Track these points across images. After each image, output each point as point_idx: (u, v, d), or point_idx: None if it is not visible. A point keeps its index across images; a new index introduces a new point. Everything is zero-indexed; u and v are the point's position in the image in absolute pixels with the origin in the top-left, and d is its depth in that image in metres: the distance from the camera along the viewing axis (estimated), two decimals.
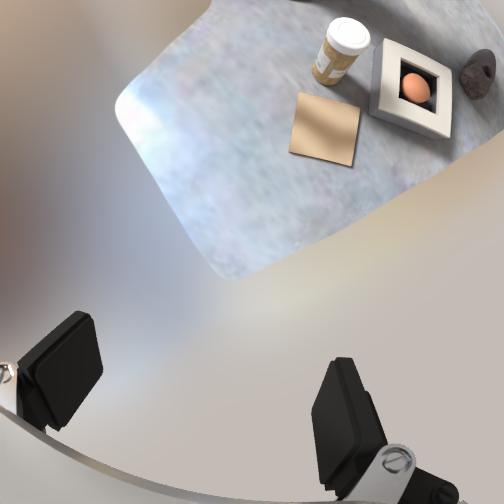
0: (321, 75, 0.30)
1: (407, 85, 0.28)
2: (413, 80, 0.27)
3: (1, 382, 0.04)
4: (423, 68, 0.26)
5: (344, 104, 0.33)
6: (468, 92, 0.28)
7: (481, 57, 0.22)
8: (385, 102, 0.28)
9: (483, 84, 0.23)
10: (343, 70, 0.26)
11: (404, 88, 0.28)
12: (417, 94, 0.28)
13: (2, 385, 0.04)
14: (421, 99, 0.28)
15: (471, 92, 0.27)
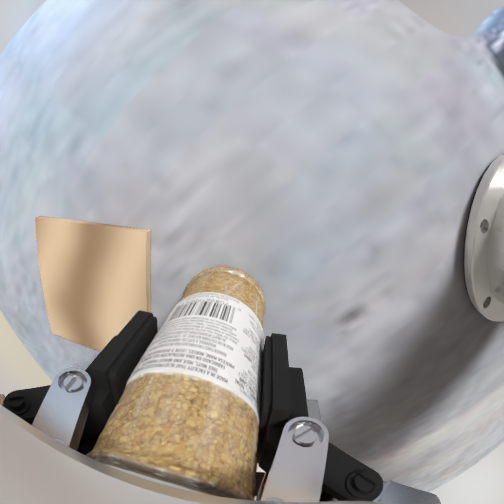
0: None
1: None
2: None
3: (69, 389, 0.06)
4: None
5: None
6: None
7: None
8: None
9: None
10: None
11: None
12: None
13: (68, 393, 0.05)
14: None
15: None
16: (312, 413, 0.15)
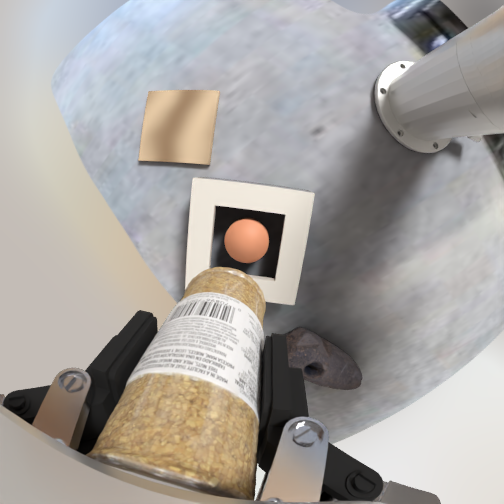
0: (179, 302, 0.12)
1: (244, 225, 0.28)
2: (256, 236, 0.28)
3: (69, 389, 0.06)
4: (279, 254, 0.28)
5: (209, 144, 0.29)
6: None
7: (338, 364, 0.30)
8: (202, 184, 0.26)
9: None
10: None
11: (239, 220, 0.28)
12: (234, 240, 0.28)
13: (68, 393, 0.05)
14: (229, 247, 0.29)
15: None
16: (304, 190, 0.29)
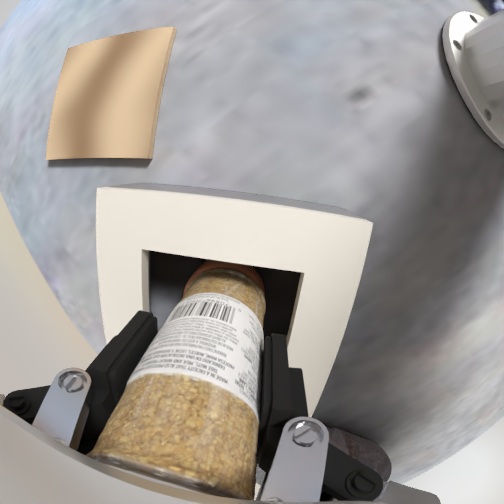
0: None
1: None
2: None
3: (69, 389, 0.06)
4: None
5: (150, 118, 0.14)
6: None
7: None
8: (114, 203, 0.11)
9: None
10: None
11: (208, 265, 0.15)
12: None
13: (68, 393, 0.05)
14: None
15: None
16: (339, 209, 0.14)
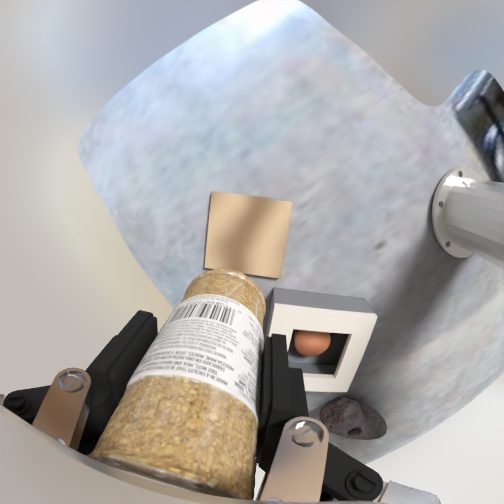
0: None
1: (313, 331, 0.32)
2: (321, 338, 0.33)
3: (69, 389, 0.06)
4: (341, 360, 0.30)
5: (281, 259, 0.31)
6: (327, 406, 0.37)
7: (372, 424, 0.33)
8: (283, 312, 0.28)
9: (335, 427, 0.32)
10: None
11: None
12: (303, 341, 0.33)
13: (68, 393, 0.05)
14: (298, 346, 0.33)
15: (327, 410, 0.36)
16: (364, 302, 0.32)
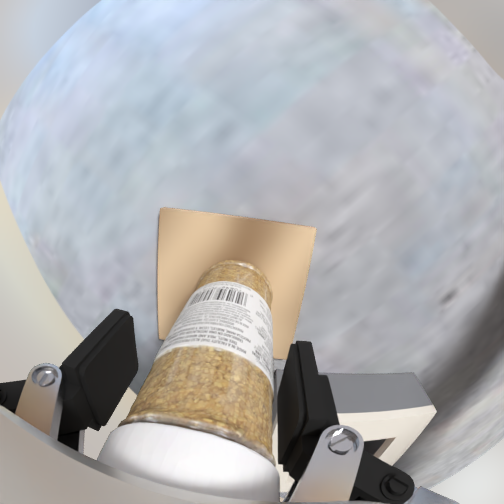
0: None
1: None
2: None
3: (42, 384, 0.05)
4: None
5: (291, 330, 0.17)
6: None
7: None
8: None
9: None
10: None
11: None
12: None
13: (42, 388, 0.05)
14: None
15: None
16: (414, 382, 0.17)
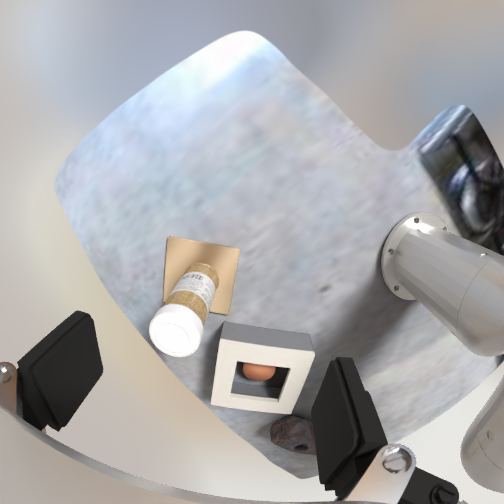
0: None
1: None
2: (266, 367, 0.36)
3: (1, 382, 0.04)
4: (283, 388, 0.34)
5: (229, 298, 0.35)
6: (278, 423, 0.40)
7: None
8: (227, 347, 0.32)
9: (282, 443, 0.36)
10: None
11: None
12: (250, 369, 0.36)
13: (2, 385, 0.04)
14: (246, 372, 0.36)
15: (277, 426, 0.40)
16: (307, 338, 0.35)
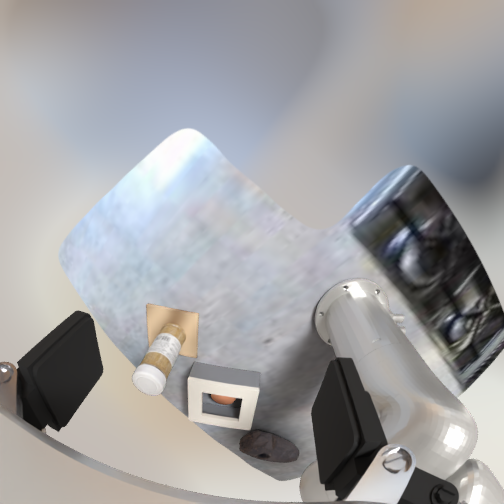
0: None
1: None
2: None
3: (1, 382, 0.04)
4: (240, 411, 0.43)
5: (195, 347, 0.44)
6: (246, 435, 0.49)
7: (279, 453, 0.46)
8: (193, 383, 0.41)
9: (246, 451, 0.45)
10: None
11: None
12: (216, 396, 0.45)
13: (2, 385, 0.04)
14: (213, 398, 0.46)
15: (245, 438, 0.48)
16: (257, 376, 0.44)
